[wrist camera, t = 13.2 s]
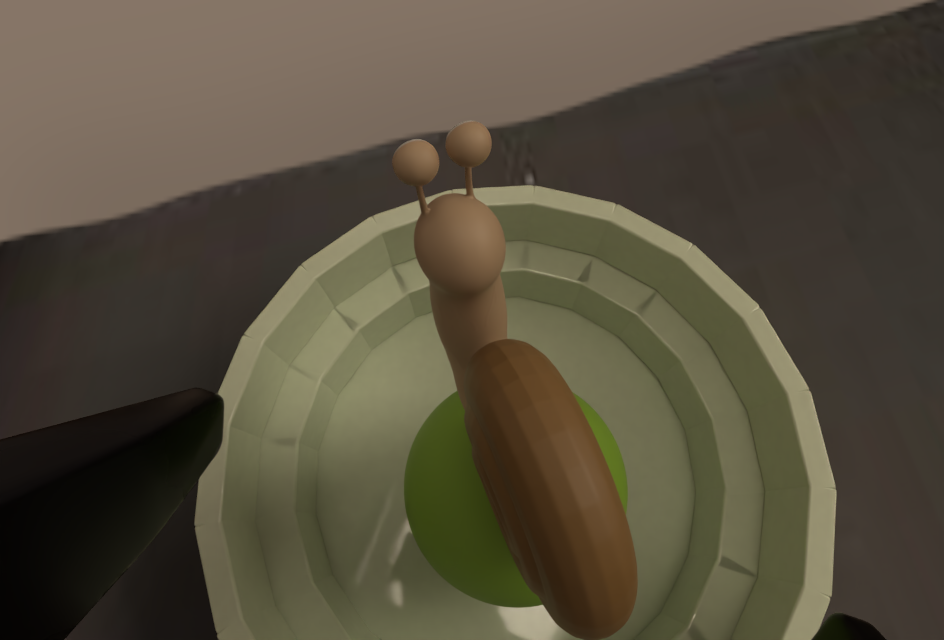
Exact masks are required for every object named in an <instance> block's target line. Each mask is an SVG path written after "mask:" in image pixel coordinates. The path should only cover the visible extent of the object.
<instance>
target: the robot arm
mask: <svg viewBox="0 0 944 640" xmlns="http://www.w3.org/2000/svg"><path fill="white" fill-rule="evenodd" d="M223 429H224V400H223V398H222V397H221V396H220V395H219V394H216V393H213V392H210V391H207V390H205V389H202V388H192V389H188V390H184V391H181V392H177V393H173V394H169V395H166V396H162V397H158V398H154V399H151V400H147V401H143V402H139V403H136V404H132V405H128V406H124V407H121V408H117V409H113V410H109V411H106V412H102V413H98V414H94V415H91V416H87V417H83V418H79V419H76V420H72V421H68V422H64V423H61V424H57V425H53V426H49V427H46V428H42V429H38V430H34V431H31V432H27V433H23V434H19V435H16V436H12V437H8V438H4V439H1V440H0V640H64V639H65V638H66V637H67V636H68V635H69V634H70V632H71V631H72V630H73V629H74V628H75V627H76V626H77V625H78V623H79V622H80V621H81V620H82V619H83V618H84V617H85V616H86V615H87V613H88V612H89V611H90V610H91V609H92V608H93V607H94V606H95V605H96V603H97V602H98V601H99V600H100V599H101V598H102V597H103V596H104V595H105V593H106V592H107V591H108V590H109V589H110V588H111V587H112V586H113V585H114V583H115V582H116V581H117V580H118V579H119V578H120V577H121V576H122V575H123V573H124V572H125V571H126V570H127V569H128V568H129V567H130V566H131V565H132V563H133V562H134V561H135V560H136V559H137V558H138V557H139V556H140V554H141V553H142V552H143V551H144V550H145V549H146V548H147V546H148V545H149V544H150V543H151V542H152V541H153V539H154V538H155V537H156V536H157V534H158V533H159V532H160V531H161V529H162V528H163V527H164V525H165V524H166V523H167V521H168V520H169V519H170V517H171V516H172V515H173V513H174V512H175V511H176V509H177V508H178V506H179V505H180V504H181V502H182V501H183V500H184V498H185V497H186V496H187V494H188V493H189V491H190V490H191V489H192V487H193V486H194V485H195V483H196V482H197V481H198V479H199V478H200V476H201V475H202V474H203V472H204V471H205V470H206V468H207V467H208V466H209V464H210V463H211V461H212V460H213V459H214V457H215V456H216V455H217V453H218V451H219V449H220V447H221V445H222V441H223ZM811 640H886V639H885V638H884V637H883V636H882V635H881V634H880V632H879V631H878V630H877V629H876V628H875V627H874V626H873V625H871V624H870V623H868V622H866V621H863V620H860V619H858V618H855V617H852V616H849V615H846V614H843V613H834V614H832V615H830V616H829V617H828V619H827V620H826V621H825V622H824V624H823V625H822V626H821V628H820V629H819V630H818V631H817V633H816V634H815V635H814V637H813V638H812V639H811Z"/></svg>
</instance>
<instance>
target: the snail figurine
mask: <svg viewBox="0 0 944 640" xmlns="http://www.w3.org/2000/svg"><path fill="white" fill-rule="evenodd" d="M491 145H492V142H491V136H490V134H489V131H488V130H487V128H486V127H485V126H484V125H482V124H481V123H478V122H476V121H465V122H462V123H460V124H458V125H456V126H455V127H454V128H452V129H451V130H450V132H449V133H448V135H447V139H446V150H447V153H448V155H449V157H450V158H451V160H452V161H453V162H455V163H456V164H457V165H459V166H462V167H465V180H466V194H460V193H449V194H444V195H441V196H439V197H437V198H435V199H434V200H432V201H431V202H430V203H429V204H428V205H427V203H426V200H425V197H424V192H423V188H422V186H423V185H425V184H427V183H429V182H430V181H431V180H433V178H434V177H435V176H436V174H437V172H438V168H439V157H438V154H437V152H436V150H435V148H434V147H433V146H432V145H431V144H430V143H428V142H426V141H424V140H420V139H415V140H410V141H407V142H405V143H404V144H402V145H401V146H400V147H399V148H398V149H397V150H396V151H395V153H394V156H393V160H392V164H393V169H394V172H395V174H396V175H397V177H398V178H399V179H400V180H401V181H402V182H404V183H405V184H407V185H410V186H416V190H417V195H418V200H419V204H420V209H421V214H420V216H419V218H418V220H417V223H416V227H415V232H414V249H415V254H416V258H417V260H418V263H419V265H420V267H421V269H422V271H423V273H424V274H425V276H426V277H427V278H428V279H429V286H430V300H431V307H432V312H433V317H434V321H435V325H436V328H437V331H438V334H439V337H440V340H441V342H442V344H443V346H444V349H445V351H446V354H447V357H448V360H449V362H450V365H451V368H452V371H453V375H454V379H455V383H456V387H457V391H456V392H454V393H453V394H451V395H450V396H449V397H447V398H446V399H445V400H444V401H443V402H441V403H440V404H439V405H438V406H437V407H436V408H435V409H434V410H433V412H432V413H431V414H430V415H429V416H428V418H427V419H426V420H425V422H424V423H423V425H422V426H421V428H420V430H419V431H418V433H417V435H416V437H415V439H414V442H413V444H412V446H411V449H410V452H409V455H408V459H407V463H406V469H405V476H404V502H405V509H406V514H407V518H408V522H409V525H410V528H411V531H412V534H413V536H414V539H415V541H416V543H417V545H418V547H419V548H420V550H421V552H422V554H423V555H424V557H425V558H426V559H427V561H428V562H429V563H430V565H431V566H432V567H433V568H434V570H435V571H436V572H437V573H438V574H439V575H440V576H441V577H442V578H443V579H445V580H446V581H447V582H448V583H449V584H451V585H452V586H453V587H455V588H456V589H458V590H459V591H461V592H463V593H464V594H466V595H468V596H470V597H472V598H474V599H477V600H479V601H482V602H485V603H488V604H492V605H497V606H502V607H512V608H525V607H534V606H540V605H543V606H544V607H545V609H546V610H547V612H548V613H549V615H550V616H551V618H552V619H553V621H554V622H555V623H556V624H557V625H558V626H559V627H560V628H562V629H563V630H564V631H566V632H567V633H569V634H570V635H572V636H574V637H576V638H579V639H583V640H600V639H604V638H607V637H610V636H611V635H613V634H614V633H616V632H617V631H618V630H620V629H621V628H622V627H623V626H624V625H625V624H626V622H627V621H628V619H629V618H630V616H631V613H632V611H633V608H634V605H635V601H636V596H637V589H638V575H637V562H636V556H635V550H634V545H633V540H632V536H631V532H630V529H629V525H628V521H627V518H626V511H627V501H628V486H627V476H626V471H625V466H624V462H623V459H622V455H621V452H620V450H619V447H618V445H617V443H616V441H615V439H614V437H613V435H612V433H611V431H610V430H609V428H608V427H607V425H606V424H605V422H604V421H603V420H602V418H601V417H600V416H599V415H598V413H597V412H596V411H595V410H594V409H593V408H592V407H591V406H590V405H589V404H588V403H586V402H585V401H584V400H583V399H582V398H580V397H579V396H578V395H576V394H575V393H573V392H572V391H571V389H570V388H569V386H568V384H567V383H566V381H565V380H564V378H563V377H562V375H561V374H560V373H559V371H558V370H557V368H556V367H555V366H554V365H553V363H552V362H551V361H550V360H549V359H548V358H547V357H546V356H545V355H544V354H543V353H542V352H540V351H539V350H537V349H536V348H535V347H533V346H532V345H530V344H529V343H526V342H524V341H520V340H515V339H507V308H506V300H505V294H504V289H503V284H502V280H501V276H500V272H501V270H502V268H503V264H504V260H505V254H506V243H505V237H504V233H503V229H502V227H501V224H500V222H499V221H498V219H497V217H496V216H495V214H494V213H493V212H492V211H491V210H490V209H489V208H488V207H487V206H486V205H485V204H484V203H482V202H481V201H479V200H478V199H476V197H475V196H474V193H473V186H472V174H471V167H475V166H478V165H480V164H481V163H483V162H484V161H485V160H486V159H487V157H488V155H489V153H490V151H491Z"/></svg>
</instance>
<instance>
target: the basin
mask: <svg viewBox="0 0 944 640" xmlns="http://www.w3.org/2000/svg"><path fill="white" fill-rule="evenodd" d="M449 193H460V194H466V189H453V190H452V191H450V190H448V191H445V192H442V193H439V194H436V195H433V196H430V197H427V198H425V200H426V203H427V205H428V204H429V203H430V202H431V201H432V200H434V199H435V198H437V197H439V196H441V195H444V194H449ZM473 193H474V196H475V197H476V199H478V200H479V201H481V202H482V203H484V204H485V205H486V206H487V207H488V208H489V209H490V210H491V211H492V212H493V213H494V214H495V216H496V217H497V219H498V221H499V222H500V224H501V227H502V229H503V233H504V237H505V243H506V254H505V260H504V264H503V268H502V270H501V272H500V276H501V280H502V284H503V289H504V294H505V300H506V308H507V339H515V340H520V341H524V342H526V343H529V344H530V345H532V346H533V347H535V348H536V349H537V350H539V351H540V352H542V353H543V354H544V355H545V356H546V357H547V358H548V359H549V360H550V361H551V362H552V363H553V365H554V366H555V367H556V368H557V370H558V371H559V373H560V374H561V375H562V377H563V378H564V380H565V381H566V383H567V384H568V386H569V388H570V389H571V391H572V392H573V393H575V394H576V395H578V396H579V397H580V398H582V399H583V400H584V401H585V402H586V403H588V404H589V405H590V406H591V407H592V408H593V409H594V410H595V411H596V412H597V413H598V415H599V416H600V417H601V418H602V420H603V421H604V422H605V424H606V425H607V427H608V428H609V430H610V431H611V433H612V435H613V437H614V439H615V441H616V443H617V445H618V447H619V450H620V452H621V455H622V459H623V462H624V466H625V471H626V476H627V486H628V501H627V511H626V518H627V521H628V525H629V529H630V532H631V536H632V540H633V545H634V550H635V556H636V562H637V575H638V589H637V596H636V601H635V605H634V608H633V611H632V613H631V616H630V618H629V619H628V621H627V622H626V624H625V625H624V626H623V627H622V628H621V629H620V630H618V631H617V632H616V633H614V634H613V635H611V636H610V637H607V638H604V639H600V640H811V639H812V638H813V637H814V635H815V634H816V633H817V631H818V630H819V628H820V625H821V623H822V620H823V618H824V615H825V613H826V610H827V607H828V605H829V602H830V598H829V597H831V596H832V579H833V557H834V535H835V513H836V490H835V488H836V486H835V482H834V478H833V475H832V471H831V467H830V463H829V459H828V456H827V452H826V448H825V444H824V440H823V436H822V433H821V429H820V425H819V421H818V417H817V414H816V410H815V406H814V402H813V398H812V395H811V392H810V391H808V390H809V388H808V386H807V384H806V382H805V381H804V379H803V377H802V376H801V374H800V372H799V371H798V369H797V367H796V366H795V364H794V362H793V361H792V359H791V357H790V356H789V354H788V352H787V351H786V349H785V347H784V346H783V344H782V342H781V341H780V339H779V337H778V336H777V334H776V332H775V331H774V329H773V327H772V326H771V324H770V323H769V321H768V319H767V318H766V316H765V314H764V313H763V311H762V309H761V308H759V305H758V304H757V303H756V302H755V301H754V300H753V299H752V298H750V297H749V296H748V295H747V294H746V293H745V292H744V291H743V290H742V289H741V288H740V287H739V286H738V285H737V284H736V283H735V282H733V281H732V280H731V279H730V278H729V277H728V276H727V275H726V274H725V273H724V272H723V271H722V270H721V269H720V268H719V267H718V266H716V265H715V264H714V263H713V262H712V261H711V260H710V259H709V258H708V257H707V256H706V255H705V254H704V253H703V252H702V251H701V250H699V249H698V248H697V247H696V246H695V245H692V243H690V242H688V241H686V240H684V239H683V238H681V237H679V236H677V235H675V234H673V233H671V232H669V231H667V230H666V229H664V228H662V227H660V226H658V225H656V224H654V223H652V222H650V221H649V220H647V219H645V218H643V217H641V216H639V215H637V214H635V213H633V212H632V211H630V210H628V209H626V208H624V207H622V206H620V205H615V203H612V202H607V201H603V200H598V199H594V198H589V197H585V196H580V195H576V194H571V193H567V192H562V191H558V190H553V189H549V188H544V187H540V186H534V187H533V186H532V185H528V186H508V187H489V188H473ZM420 214H421V209H420V204H419V200H418V201H415V202H412V203H409V204H406V205H403V206H400V207H397V208H394V209H391V210H388V211H385V212H382V213H379V214H376V215H374V216H373V217H369V218H368V219H366V220H365V221H363V222H362V223H360V224H359V225H357V226H356V227H354V228H353V229H351V230H350V231H349V232H347V233H346V234H344V235H343V236H341V237H340V238H338V239H337V240H335V241H334V242H332V243H331V244H330V245H328V246H327V247H325V248H324V249H322V250H321V251H319V252H318V253H316V254H315V255H313V256H312V257H311V258H309V259H308V260H306V261H305V262H303V263H302V264H301V266H299V267H298V268H297V269H296V271H295V272H294V273H293V274H292V276H291V277H290V278H289V279H288V280H287V282H286V283H285V284H284V285H283V286H282V288H281V289H280V290H279V291H278V293H277V294H276V295H275V296H274V297H273V299H272V300H271V301H270V302H269V303H268V305H267V306H266V307H265V308H264V310H263V311H262V312H261V313H260V314H259V316H258V317H257V318H256V319H255V320H254V322H253V323H252V324H251V325H250V327H249V328H248V329H247V330H246V331H245V333H244V336H242V337H241V340H240V342H239V344H238V347H237V349H236V352H235V354H234V356H233V359H232V361H231V363H230V366H229V368H228V370H227V373H226V375H225V377H224V380H223V382H222V385H221V387H220V389H219V392H218V394H219V395H220V396H221V397H222V398H223V400H224V429H223V441H222V445H221V447H220V449H219V451H218V453H217V455H216V456H215V457H214V459H213V460H212V461H211V463H210V464H209V466H208V467H207V468H206V470H205V471H204V472H203V474H202V475H201V476H200V478H199V483H198V492H197V502H196V511H195V521H194V525H195V526H196V527H195V532H196V537H197V542H198V547H199V552H200V557H201V562H202V567H203V571H204V576H205V581H206V586H207V591H208V596H209V601H210V606H211V611H212V615H213V620H214V625H215V630H216V632H217V633H218V634H217V637H218V639H219V640H583V639H579V638H576V637H574V636H572V635H570V634H569V633H567V632H566V631H564V630H563V629H562V628H560V627H559V626H558V625H557V624H556V623H555V622H554V621H553V619H552V618H551V616H550V615H549V613H548V612H547V610H546V609H545V607H544V606H543V605H540V606H534V607H525V608H512V607H502V606H497V605H492V604H488V603H485V602H482V601H479V600H477V599H474V598H472V597H470V596H468V595H466V594H464V593H463V592H461V591H459V590H458V589H456V588H455V587H453V586H452V585H451V584H449V583H448V582H447V581H446V580H445V579H443V578H442V577H441V576H440V575H439V574H438V573H437V572H436V571H435V570H434V568H433V567H432V566H431V565H430V563H429V562H428V561H427V559H426V558H425V557H424V555H423V554H422V552H421V550H420V548H419V547H418V545H417V543H416V541H415V539H414V536H413V534H412V531H411V528H410V525H409V522H408V518H407V514H406V509H405V502H404V476H405V469H406V463H407V459H408V455H409V452H410V449H411V446H412V444H413V442H414V439H415V437H416V435H417V433H418V431H419V430H420V428H421V426H422V425H423V423H424V422H425V420H426V419H427V418H428V416H429V415H430V414H431V413H432V412H433V410H434V409H435V408H436V407H437V406H438V405H439V404H440V403H441V402H443V401H444V400H445V399H446V398H447V397H449V396H450V395H451V394H453V393H454V392H456V391H457V387H456V383H455V379H454V375H453V371H452V368H451V365H450V362H449V360H448V357H447V354H446V351H445V349H444V346H443V344H442V342H441V340H440V337H439V334H438V331H437V328H436V325H435V321H434V317H433V312H432V307H431V300H430V286H429V279H428V278H427V277H426V276H425V274H424V273H423V271H422V269H421V267H420V265H419V263H418V260H417V258H416V254H415V249H414V232H415V227H416V223H417V220H418V218H419V216H420Z"/></svg>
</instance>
